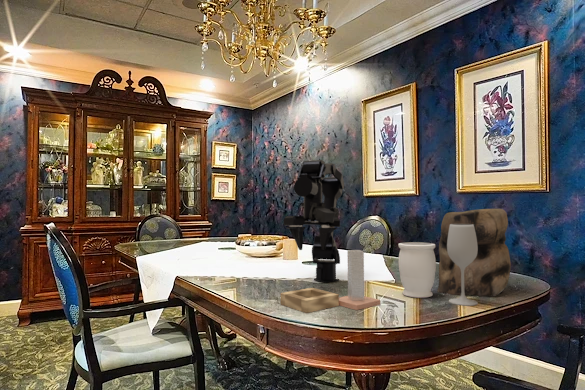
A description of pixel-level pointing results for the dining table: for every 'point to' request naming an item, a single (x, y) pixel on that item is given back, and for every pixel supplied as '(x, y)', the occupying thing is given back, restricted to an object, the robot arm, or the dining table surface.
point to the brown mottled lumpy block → (490, 257)
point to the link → (356, 275)
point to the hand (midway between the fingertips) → (312, 249)
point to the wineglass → (462, 254)
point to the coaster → (358, 303)
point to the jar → (417, 268)
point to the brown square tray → (309, 299)
